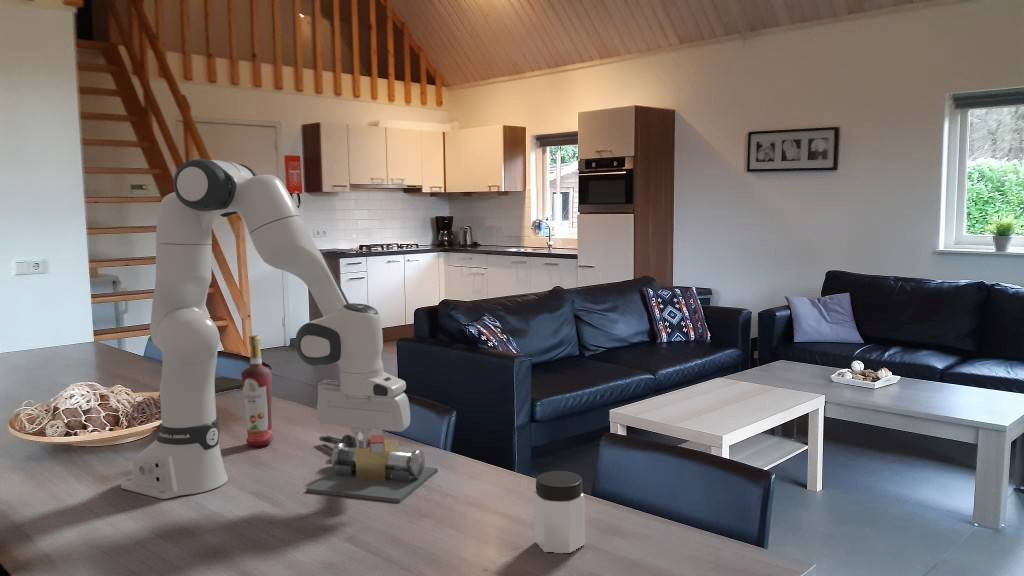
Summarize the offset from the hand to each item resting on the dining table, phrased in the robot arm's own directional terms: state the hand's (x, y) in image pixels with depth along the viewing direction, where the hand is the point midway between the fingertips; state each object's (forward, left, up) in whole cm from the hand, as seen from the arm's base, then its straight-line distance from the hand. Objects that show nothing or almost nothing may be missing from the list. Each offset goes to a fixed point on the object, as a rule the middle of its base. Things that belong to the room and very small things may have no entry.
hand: (363, 447), depth 161 cm
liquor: (-43, +23, -10) cm, 50 cm away
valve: (-15, +23, -10) cm, 30 cm away
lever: (0, +5, -2) cm, 5 cm away
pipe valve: (-2, +9, -10) cm, 14 cm away
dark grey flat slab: (-96, +68, -11) cm, 118 cm away
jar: (+45, -12, -10) cm, 48 cm away
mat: (-2, +7, -10) cm, 13 cm away
